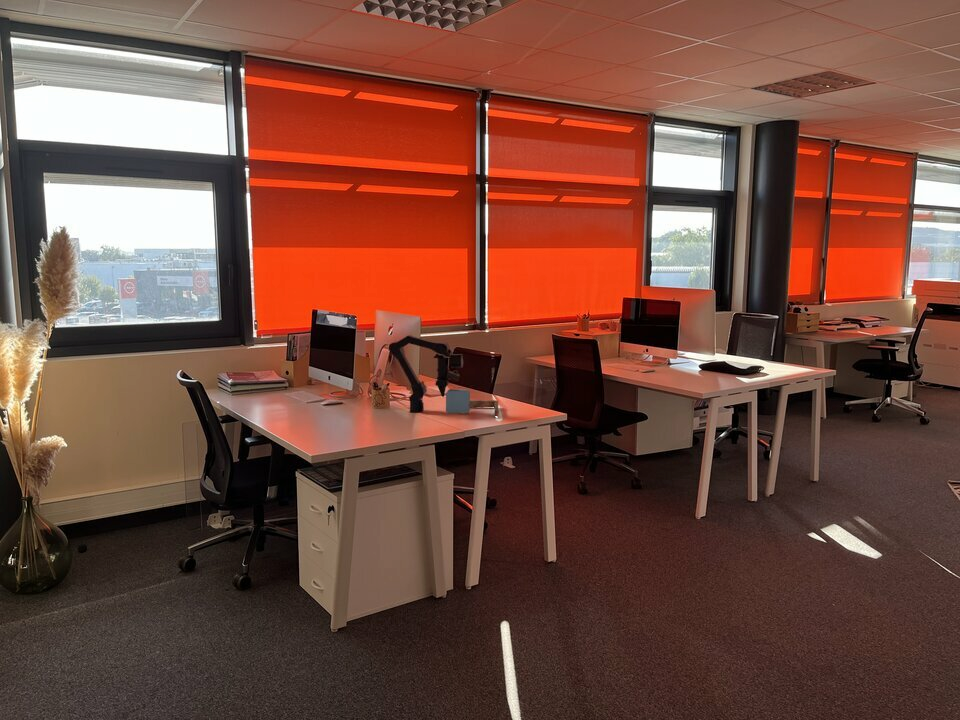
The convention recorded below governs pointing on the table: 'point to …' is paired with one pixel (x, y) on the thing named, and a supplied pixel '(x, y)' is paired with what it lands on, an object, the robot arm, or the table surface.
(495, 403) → the brown angled bar
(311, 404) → the table surface
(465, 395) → the data package
